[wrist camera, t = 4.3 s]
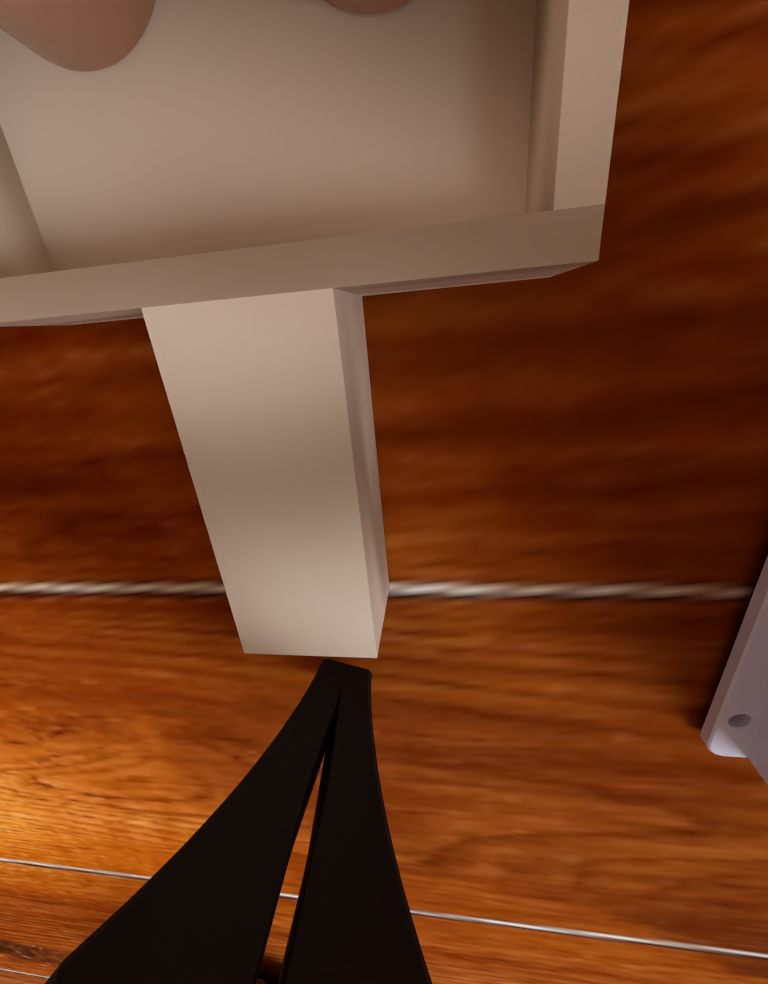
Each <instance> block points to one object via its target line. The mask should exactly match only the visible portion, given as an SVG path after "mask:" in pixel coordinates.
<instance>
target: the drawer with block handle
mask: <svg viewBox="0 0 768 984" xmlns="http://www.w3.org/2000/svg"><path fill="white" fill-rule="evenodd" d="M628 7H629V0H411V1H409V2H407V3H406V4H404V5H402V6H400V7H397V8H395V9H392V10H389V11H386V12H380V13H375V14H359V13H354V12H349V11H345V10H343V9H340V8H337V7H335V6H333V5H331V4H330V3H328V2H326V1H325V0H155V4H154V8H153V11H152V14H151V17H150V20H149V22H148V25H147V27H146V29H145V31H144V33H143V35H142V37H141V38H140V40H139V41H138V42H137V44H136V45H135V47H134V48H133V49H132V50H131V51H130V52H129V53H128V54H127V55H126V56H125V57H124V58H123V59H121V60H120V61H118V62H117V63H116V64H114V65H112V66H109V67H107V68H105V69H101V70H97V71H89V72H80V71H73V70H68V69H65V68H62V67H59V66H56V65H54V64H52V63H50V62H48V61H46V60H45V59H43V58H42V57H40V56H39V55H37V54H36V53H34V52H33V51H31V50H30V49H28V48H27V47H26V46H24V45H23V44H21V43H20V42H19V41H17V40H16V39H14V38H13V37H12V36H10V35H9V34H7V33H6V32H5V31H3V30H2V29H0V327H4V326H46V325H76V324H86V323H96V322H106V321H116V320H126V319H136V318H144V320H145V323H146V327H147V330H148V333H149V337H150V340H151V343H152V347H153V350H154V353H155V357H156V360H157V363H158V367H159V370H160V373H161V377H162V380H163V383H164V387H165V390H166V393H167V397H168V400H169V403H170V407H171V410H172V413H173V417H174V420H175V423H176V427H177V430H178V433H179V437H180V440H181V444H182V447H183V450H184V454H185V457H186V460H187V464H188V467H189V470H190V474H191V477H192V480H193V484H194V487H195V490H196V494H197V497H198V500H199V504H200V507H201V510H202V514H203V517H204V520H205V524H206V527H207V530H208V534H209V537H210V540H211V544H212V547H213V550H214V554H215V557H216V560H217V564H218V567H219V571H220V574H221V577H222V581H223V584H224V587H225V591H226V594H227V597H228V601H229V604H230V607H231V611H232V614H233V617H234V621H235V624H236V627H237V631H238V634H239V637H240V641H241V644H242V647H243V651H244V653H247V654H276V655H304V656H332V657H360V658H377V655H378V649H379V644H380V638H381V632H382V626H383V621H384V615H385V609H386V603H387V597H388V592H389V579H388V568H387V558H386V547H385V536H384V526H383V515H382V504H381V493H380V483H379V472H378V461H377V451H376V440H375V429H374V419H373V408H372V397H371V386H370V376H369V365H368V354H367V344H366V333H365V323H364V312H363V302H362V296H367V295H377V294H388V293H398V292H408V291H418V290H428V289H438V288H448V287H458V286H468V285H478V284H488V283H498V282H508V281H518V280H528V279H538V278H548V277H552V276H555V275H558V274H561V273H564V272H566V271H569V270H572V269H575V268H578V267H581V266H584V265H587V264H590V263H593V262H596V261H598V259H599V251H600V243H601V234H602V226H603V217H604V209H605V201H606V192H607V184H608V175H609V167H610V159H611V150H612V142H613V133H614V125H615V117H616V108H617V100H618V91H619V83H620V75H621V66H622V58H623V49H624V41H625V33H626V24H627V16H628Z"/></svg>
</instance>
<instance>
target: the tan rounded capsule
mask: <svg viewBox="0 0 768 984" xmlns="http://www.w3.org/2000/svg"><path fill="white" fill-rule="evenodd" d="M325 1H326V2H328V3H330V4H331V5H333V6H335V7H337V8H340V9H343V10H345V11H349V12H354V13H359V14H375V13H380V12H386V11H389V10H392V9H395V8H397V7H400V6H402V5H404V4H406V3H407V2H409V1H411V0H325Z"/></svg>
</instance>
